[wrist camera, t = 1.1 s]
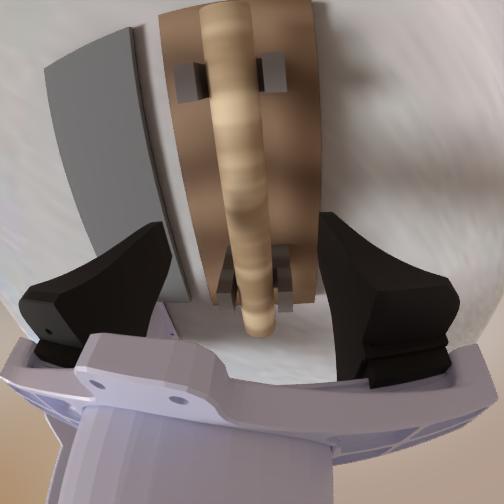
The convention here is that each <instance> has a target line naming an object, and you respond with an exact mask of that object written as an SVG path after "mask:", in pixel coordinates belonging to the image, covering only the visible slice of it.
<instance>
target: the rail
mask: <svg viewBox="0 0 504 504" xmlns="http://www.w3.org/2000/svg"><path fill="white" fill-rule="evenodd" d="M199 15H200V25H201V34H202V43H203V51H204V60H205V68H206V76H207V84H208V92H209V100H210V108H211V115H212V123H213V130H214V137H215V145H216V152H217V159H218V166H219V173H220V179H221V186H222V193H223V199H224V206H225V212H226V219H227V225H228V231H229V238H230V244H231V250H232V256H233V262H234V268H235V274H236V280H237V286H238V292H239V298H240V304H241V309H242V315H243V321H244V326H245V330H246V332H247V333H248V334H249V335H250V336H252V337H255V338H263V337H266V336H268V335H270V334H271V333H272V332H273V331H274V329H275V307H274V288H273V270H272V252H271V236H270V221H269V206H268V192H267V178H266V165H265V153H264V140H263V128H262V117H261V106H260V95H259V84H258V74H257V64H256V54H255V44H254V35H253V26H252V17H251V9H250V5H249V4H248V3H245V2H240V1H225V2H218V3H213V4H210V5H207V6H204V7H203V8H201V9H200V10H199Z"/></svg>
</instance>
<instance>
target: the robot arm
mask: <svg viewBox="0 0 504 504" xmlns="http://www.w3.org/2000/svg"><path fill="white" fill-rule="evenodd" d="M317 254H318V261H319V268H320V272H321V276H322V280H323V283H324V287H325V291H326V294H327V298H328V302H329V306H330V311H331V316H332V324H333V332H334V342H335V353H336V369H337V382H327V383H314V384H296V385H270V384H263V383H257V382H251V381H245V380H239V379H234V378H230V377H229V376H228V373H227V370H226V367H225V365H224V364H223V362H222V361H221V360H220V359H219V358H218V357H217V355H216V354H215V353H214V352H212V351H210V350H208V349H206V348H204V347H202V346H200V345H198V344H196V343H191V342H186V341H181V340H179V337H178V334H177V332H176V330H175V328H174V326H173V324H172V321H171V319H170V317H169V315H168V312H167V310H166V308H165V305H164V303H163V302H157V300H158V297H159V295H160V292H161V290H162V287H163V285H164V283H165V280H166V278H167V275H168V272H169V269H170V265H171V261H172V257H173V256H172V253H171V249H170V246H169V243H168V239H167V236H166V233H165V229H164V226H163V222H162V221H159V222H150V223H148V224H146V225H145V226H143V227H141V228H140V229H138V230H137V231H135V232H134V233H133V234H131V235H130V236H128V237H127V238H125V239H124V240H123V241H121V242H120V243H118V244H117V245H115V246H114V247H112V248H111V249H109V250H108V251H107V252H105V253H103V254H102V255H100V256H99V257H97V258H95V259H94V260H92V261H90V262H88V263H87V264H85V265H83V266H81V267H79V268H77V269H75V270H73V271H71V272H69V273H66V274H64V275H62V276H59V277H57V278H54V279H51V280H49V281H45V282H42V283H39V284H36V285H33V286H31V287H29V288H28V290H27V291H26V292H25V294H24V295H23V296H22V298H21V299H20V301H19V309H20V312H21V314H22V316H23V318H24V319H25V321H26V322H27V323H28V325H29V326H30V327H31V329H32V330H33V331H34V332H35V334H36V335H37V336H38V337H39V339H40V340H39V342H38V344H36V343H35V342H34V341H32V340H29V339H26V338H22V337H20V338H19V340H18V341H17V343H16V345H15V347H14V348H13V350H12V352H11V354H10V356H9V358H8V359H7V361H6V363H5V365H4V367H3V369H2V371H1V373H0V378H1V379H2V380H3V381H4V382H5V383H6V384H7V385H9V386H10V387H11V388H12V389H13V390H14V391H15V392H17V393H18V394H19V395H20V396H21V397H22V398H24V399H25V400H26V401H27V402H29V403H30V404H31V405H33V406H34V407H36V408H38V409H40V410H42V411H44V412H45V418H46V420H47V422H48V424H49V426H50V427H51V429H52V430H53V432H54V434H55V435H56V437H57V439H58V440H59V442H60V444H61V447H60V450H59V453H58V457H57V460H56V463H55V467H54V470H53V474H52V478H51V482H50V486H49V490H48V494H47V499H46V504H333V467H332V466H335V465H341V464H347V463H352V462H357V461H361V460H366V459H370V458H374V457H378V456H382V455H386V454H389V453H393V452H396V451H399V450H403V449H406V448H409V447H412V446H415V445H418V444H421V443H423V442H427V441H429V440H432V439H435V438H437V437H440V436H443V435H445V434H448V433H450V432H453V431H455V430H458V429H460V428H462V427H464V426H465V425H467V424H468V423H470V422H471V421H472V420H473V419H475V418H476V417H477V416H479V415H480V414H481V413H483V412H484V411H485V410H487V409H488V408H489V407H490V406H491V405H493V404H494V403H495V402H496V401H497V400H498V395H497V392H496V389H495V386H494V383H493V381H492V378H491V375H490V373H489V370H488V368H487V365H486V363H485V360H484V358H483V356H482V353H481V351H480V349H479V346H478V344H472V345H468V346H465V347H461V348H457V349H455V350H453V351H451V352H450V353H449V354H448V352H447V349H446V347H445V346H447V345H448V339H447V337H446V332H447V331H448V329H449V327H450V326H451V324H452V322H453V320H454V319H455V317H456V315H457V312H458V310H459V306H460V299H459V296H458V294H457V292H456V291H455V289H454V287H453V286H452V284H451V282H450V281H449V279H448V278H446V277H443V276H440V275H436V274H433V273H430V272H427V271H424V270H422V269H419V268H416V267H414V266H412V265H409V264H407V263H405V262H403V261H401V260H399V259H397V258H395V257H393V256H391V255H389V254H387V253H386V252H384V251H382V250H381V249H379V248H378V247H376V246H374V245H373V244H371V243H370V242H369V241H367V240H366V239H365V238H363V237H362V236H361V235H359V234H358V233H357V232H356V231H354V230H353V229H352V228H351V227H349V226H348V225H347V224H346V223H345V222H344V221H342V220H341V219H340V218H339V217H338V216H337V215H335V214H334V213H333V212H319V222H318V243H317Z"/></svg>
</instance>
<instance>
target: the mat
mask: <svg viewBox="0 0 504 504" xmlns="http://www.w3.org/2000/svg"><path fill="white" fill-rule="evenodd" d="M44 73H45V81H46V88H47V95H48V101H49V107H50V112H51V117H52V122H53V127H54V131H55V136H56V140H57V144H58V148H59V152H60V155H61V159H62V162H63V166H64V169H65V173H66V176H67V179H68V182H69V185H70V188H71V191H72V194H73V197H74V200H75V203H76V206H77V209H78V211H79V214H80V217H81V219H82V222H83V224H84V227H85V229H86V232H87V234H88V237H89V239H90V241H91V244H92V246H93V248H94V251H95V253H96V255H97V257H99V256H100V255H102V254H103V253H105V252H107V251H108V250H109V249H111V248H112V247H114V246H115V245H117V244H118V243H120V242H121V241H123V240H124V239H125V238H127V237H128V236H130V235H131V234H133V233H134V232H135V231H137V230H138V229H140V228H141V227H143V226H145V225H146V224H148V223H150V222H159V221H162V222H163V226H164V229H165V233H166V236H167V239H168V243H169V246H170V249H171V253H172V256H173V257H172V261H171V265H170V269H169V272H168V275H167V278H166V280H165V283H164V285H163V287H162V290H161V292H160V295H159V297H158V300H157V302H191V295H190V292H189V289H188V286H187V283H186V280H185V277H184V273H183V270H182V267H181V264H180V260H179V257H178V254H177V250H176V247H175V243H174V240H173V236H172V233H171V229H170V225H169V222H168V218H167V214H166V210H165V207H164V203H163V199H162V195H161V191H160V187H159V182H158V178H157V174H156V169H155V165H154V161H153V156H152V151H151V147H150V142H149V137H148V132H147V126H146V121H145V116H144V110H143V104H142V98H141V92H140V86H139V79H138V72H137V64H136V57H135V48H134V39H133V28H132V27H127V28H124V29H122V30H119V31H117V32H114V33H112V34H109V35H107V36H105V37H102V38H100V39H98V40H96V41H94V42H92V43H89V44H87V45H85V46H83V47H81V48H79V49H77V50H76V51H74V52H72V53H70V54H68V55H66V56H65V57H63V58H61V59H59V60H58V61H56V62H54V63H53V64H51V65H49V66H48V67H46V68H44Z"/></svg>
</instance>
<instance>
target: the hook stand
mask: <svg viewBox="0 0 504 504" xmlns="http://www.w3.org/2000/svg"><path fill="white" fill-rule="evenodd" d="M227 1H240V2H245V3H248V4H249V5H250V9H251V17H252V26H253V35H254V44H255V54H256V64H257V74H258V84H259V95H260V106H261V117H262V128H263V140H264V153H265V165H266V178H267V192H268V206H269V221H270V236H271V252H272V270H273V288H274V304H278V312H293V304H301V303H314V301H315V290H316V278H317V265H318V254H317V243H318V222H319V212H320V206H321V114H320V91H319V74H318V60H317V48H316V37H315V28H314V19H313V11H312V3H311V0H227ZM220 2H225V1H220ZM214 3H218V2H214ZM210 4H213V3H208V4H202V5H197V6H193V7H188V8H184V9H180V10H176V11H172V12H168V13H164V14H161V15H158V17H159V27H160V37H161V46H162V54H163V62H164V70H165V77H166V84H167V91H168V98H169V104H170V111H171V117H172V123H173V129H174V134H175V140H176V146H177V151H178V156H179V162H180V167H181V172H182V177H183V182H184V187H185V191H186V196H187V201H188V205H189V210H190V215H191V219H192V223H193V228H194V232H195V236H196V241H197V245H198V249H199V253H200V257H201V261H202V265H203V269H204V273H205V277H206V281H207V285H208V289H209V292H210V296H211V300H212V304H213V305H219V308H220V312H221V313H235V307H236V305H241V304H240V298H239V292H238V286H237V280H236V274H235V268H234V262H233V256H232V250H231V244H230V238H229V231H228V225H227V219H226V212H225V206H224V199H223V193H222V186H221V179H220V173H219V166H218V159H217V152H216V145H215V137H214V130H213V123H212V115H211V108H210V100H209V92H208V84H207V76H206V68H205V60H204V51H203V43H202V34H201V25H200V15H199V10H200V9H201V8H203V7H204V6H207V5H210Z"/></svg>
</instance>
